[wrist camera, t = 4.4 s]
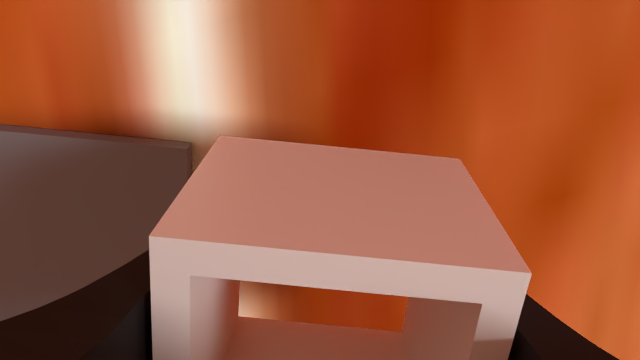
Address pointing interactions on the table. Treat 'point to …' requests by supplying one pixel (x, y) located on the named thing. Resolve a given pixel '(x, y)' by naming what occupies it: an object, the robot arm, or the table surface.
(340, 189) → the collar
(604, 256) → the table surface
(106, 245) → the duct board
